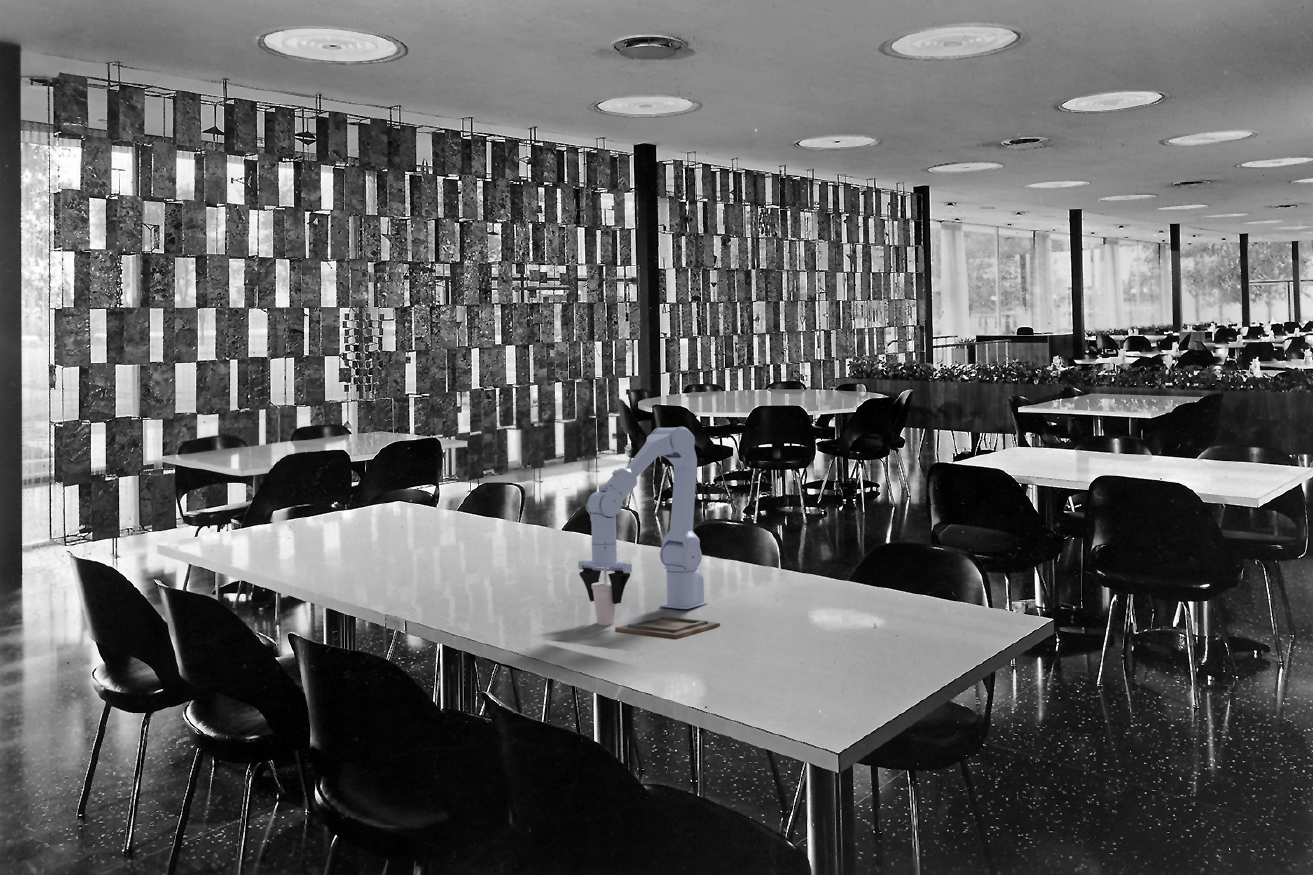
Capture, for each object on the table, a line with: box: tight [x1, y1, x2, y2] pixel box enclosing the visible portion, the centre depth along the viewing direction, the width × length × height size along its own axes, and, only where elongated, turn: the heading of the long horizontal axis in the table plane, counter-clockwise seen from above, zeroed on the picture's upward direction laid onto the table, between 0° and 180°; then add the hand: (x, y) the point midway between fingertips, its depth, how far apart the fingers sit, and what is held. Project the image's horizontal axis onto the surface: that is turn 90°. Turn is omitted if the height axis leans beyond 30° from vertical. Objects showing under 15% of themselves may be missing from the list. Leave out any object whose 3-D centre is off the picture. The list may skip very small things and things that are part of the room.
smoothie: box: [591, 568, 617, 626], centre depth 244 cm, size 6×6×14 cm
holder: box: [614, 615, 721, 639], centre depth 238 cm, size 17×17×1 cm
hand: (605, 602), depth 244 cm, fingers open, 6 cm apart
